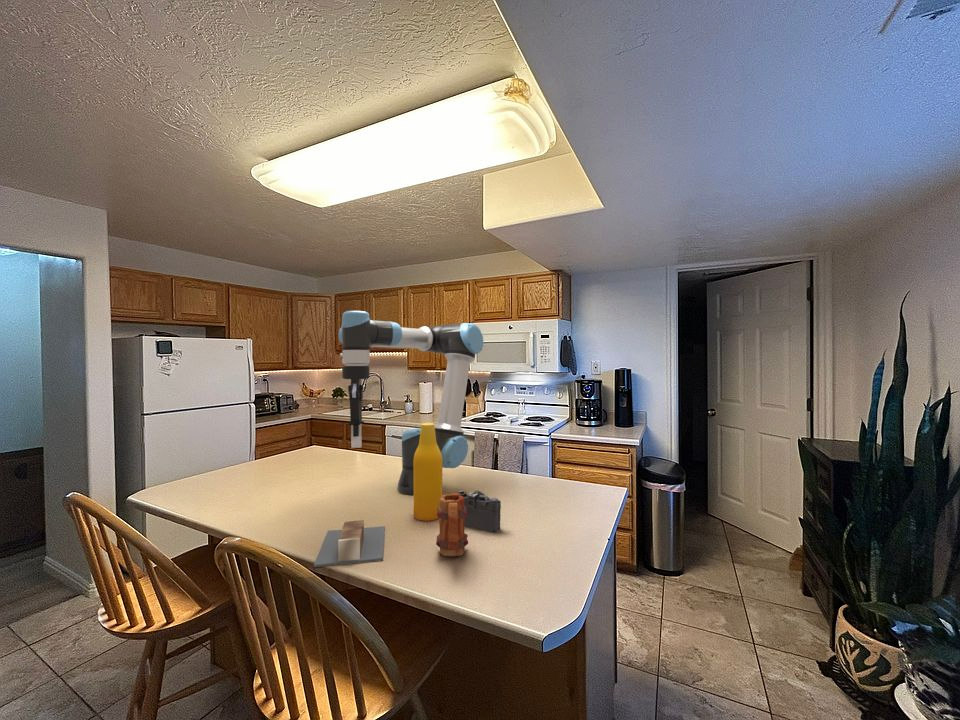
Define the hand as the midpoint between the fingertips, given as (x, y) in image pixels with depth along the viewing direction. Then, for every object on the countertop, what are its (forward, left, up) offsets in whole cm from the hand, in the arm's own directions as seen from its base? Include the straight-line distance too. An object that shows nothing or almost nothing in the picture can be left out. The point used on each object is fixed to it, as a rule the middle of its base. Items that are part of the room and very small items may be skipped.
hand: (356, 447), depth 117 cm
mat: (0, +9, -24) cm, 26 cm away
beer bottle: (-21, -8, -25) cm, 33 cm away
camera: (-36, +1, -25) cm, 44 cm away
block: (0, +7, -21) cm, 22 cm away
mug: (-25, +21, -25) cm, 41 cm away
